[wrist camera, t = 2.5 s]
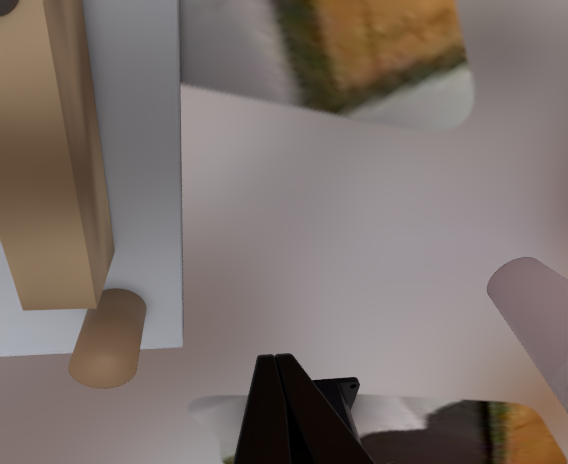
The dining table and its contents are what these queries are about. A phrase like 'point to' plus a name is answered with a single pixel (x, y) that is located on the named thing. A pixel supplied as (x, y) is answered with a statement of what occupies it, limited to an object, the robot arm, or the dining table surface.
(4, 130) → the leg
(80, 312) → the grey peg board
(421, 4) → the dining table surface
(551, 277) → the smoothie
